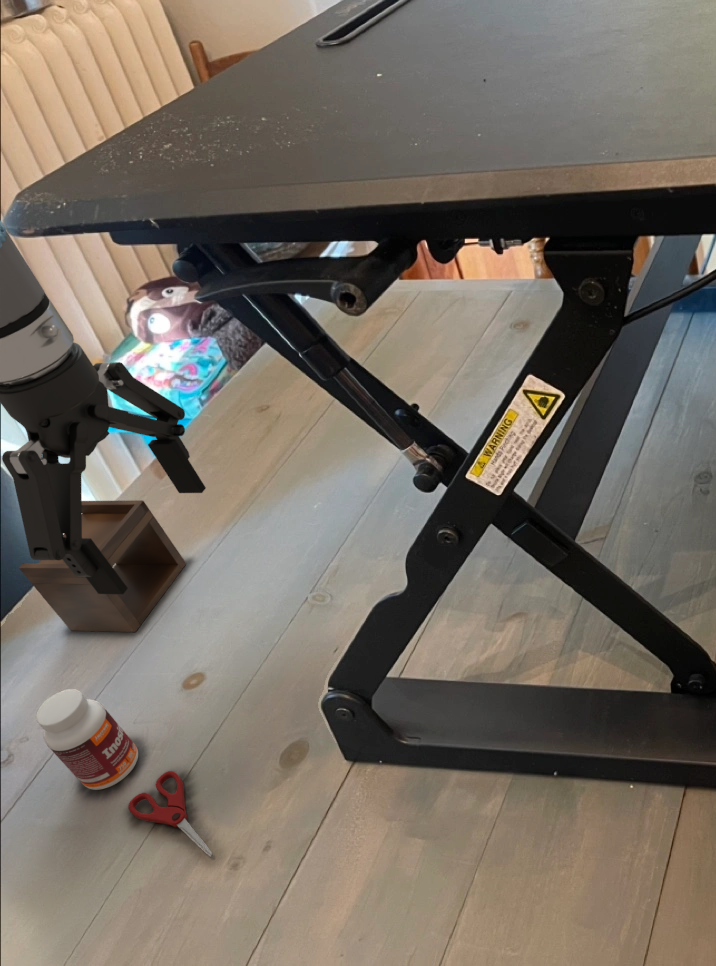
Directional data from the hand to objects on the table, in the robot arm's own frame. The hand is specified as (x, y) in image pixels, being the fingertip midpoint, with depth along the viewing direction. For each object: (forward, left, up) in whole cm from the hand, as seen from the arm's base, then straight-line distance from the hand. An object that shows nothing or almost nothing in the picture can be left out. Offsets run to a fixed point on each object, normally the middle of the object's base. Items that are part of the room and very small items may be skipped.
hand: (155, 538), depth 103 cm
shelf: (-32, +17, -28) cm, 46 cm away
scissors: (-4, -14, -28) cm, 32 cm away
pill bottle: (-17, -8, -29) cm, 34 cm away
